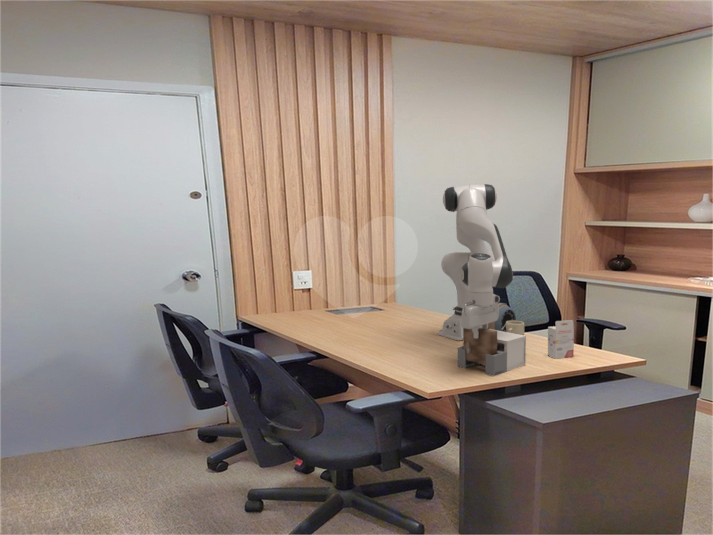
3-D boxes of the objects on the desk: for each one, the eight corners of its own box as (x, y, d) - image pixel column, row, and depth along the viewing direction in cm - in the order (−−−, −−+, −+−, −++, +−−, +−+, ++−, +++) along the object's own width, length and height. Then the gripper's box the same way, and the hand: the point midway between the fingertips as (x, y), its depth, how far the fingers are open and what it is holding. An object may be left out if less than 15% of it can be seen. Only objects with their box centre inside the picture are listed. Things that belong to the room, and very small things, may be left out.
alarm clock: (500, 348, 214) (501, 306, 213) (481, 343, 222) (481, 303, 220) (519, 342, 223) (520, 302, 222) (500, 338, 231) (501, 299, 229)
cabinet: (457, 366, 190) (457, 337, 189) (489, 356, 202) (489, 328, 201) (494, 375, 177) (494, 344, 176) (525, 364, 190) (525, 335, 189)
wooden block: (461, 359, 187) (461, 327, 186) (467, 357, 190) (467, 326, 189) (491, 366, 179) (491, 332, 178) (496, 363, 182) (497, 330, 181)
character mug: (512, 349, 211) (512, 318, 210) (528, 352, 206) (529, 321, 205) (500, 355, 203) (500, 323, 202) (517, 358, 198) (517, 325, 197)
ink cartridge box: (565, 353, 204) (566, 317, 203) (573, 357, 199) (574, 319, 198) (546, 355, 202) (547, 319, 200) (554, 358, 197) (555, 321, 196)
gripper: (472, 303, 173) (472, 343, 174) (502, 296, 188) (501, 333, 189) (456, 301, 178) (456, 340, 179) (487, 294, 192) (486, 330, 193)
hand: (480, 336), depth 184 cm, fingers closed on wooden block, 3 cm apart
